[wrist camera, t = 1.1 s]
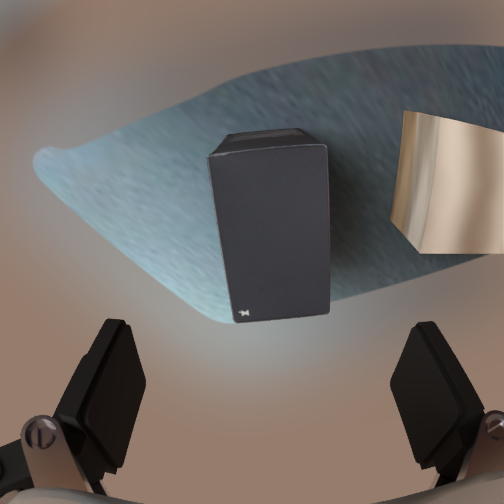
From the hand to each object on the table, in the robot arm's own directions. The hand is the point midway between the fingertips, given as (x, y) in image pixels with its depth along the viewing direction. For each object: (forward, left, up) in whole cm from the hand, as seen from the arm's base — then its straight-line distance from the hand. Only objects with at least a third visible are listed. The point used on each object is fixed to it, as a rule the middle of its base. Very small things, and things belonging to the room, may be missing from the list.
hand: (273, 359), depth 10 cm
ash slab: (-16, -3, -16) cm, 23 cm away
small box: (0, 0, -19) cm, 19 cm away
